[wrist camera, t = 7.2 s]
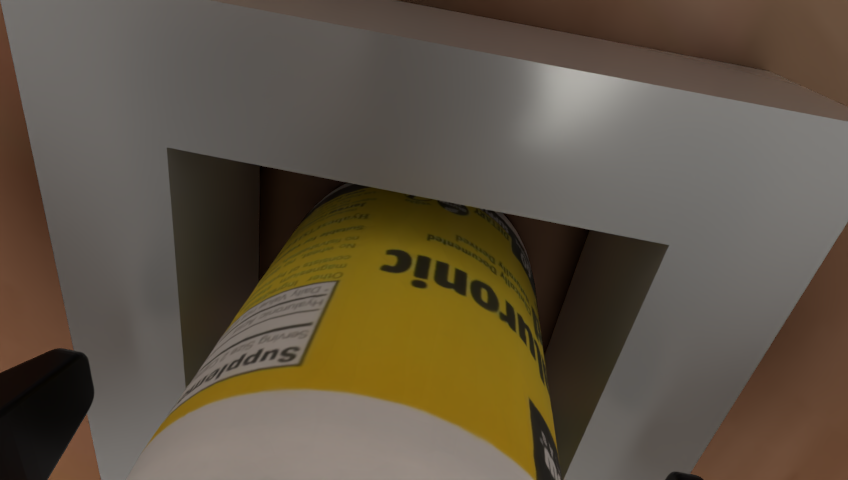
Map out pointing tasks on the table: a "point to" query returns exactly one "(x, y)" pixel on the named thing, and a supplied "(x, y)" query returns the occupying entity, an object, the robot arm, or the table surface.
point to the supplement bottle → (374, 356)
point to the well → (426, 192)
